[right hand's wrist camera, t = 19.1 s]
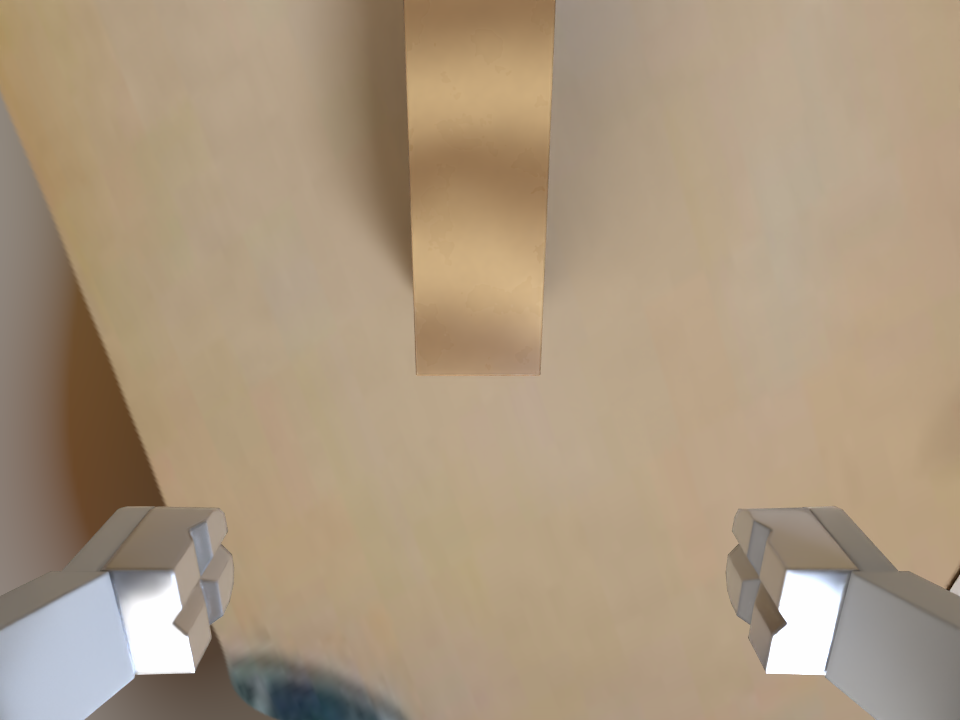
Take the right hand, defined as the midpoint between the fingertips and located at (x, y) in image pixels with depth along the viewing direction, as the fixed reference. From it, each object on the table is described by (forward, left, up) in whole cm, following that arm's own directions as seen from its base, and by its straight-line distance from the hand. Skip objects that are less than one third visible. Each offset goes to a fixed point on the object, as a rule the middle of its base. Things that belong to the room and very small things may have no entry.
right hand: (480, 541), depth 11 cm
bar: (+8, +3, -23) cm, 24 cm away
